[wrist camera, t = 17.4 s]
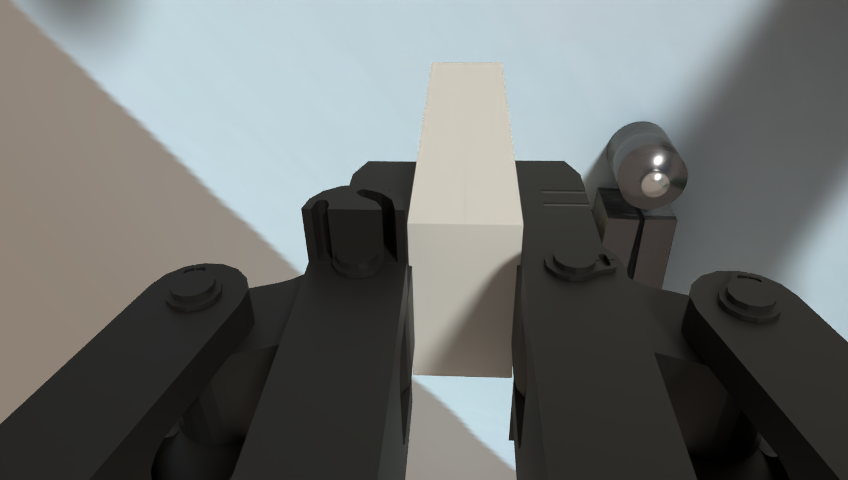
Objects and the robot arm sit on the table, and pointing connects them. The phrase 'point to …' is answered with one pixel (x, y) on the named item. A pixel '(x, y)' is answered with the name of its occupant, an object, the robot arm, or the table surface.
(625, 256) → the tong arm
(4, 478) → the robot arm
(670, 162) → the base
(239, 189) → the table surface
